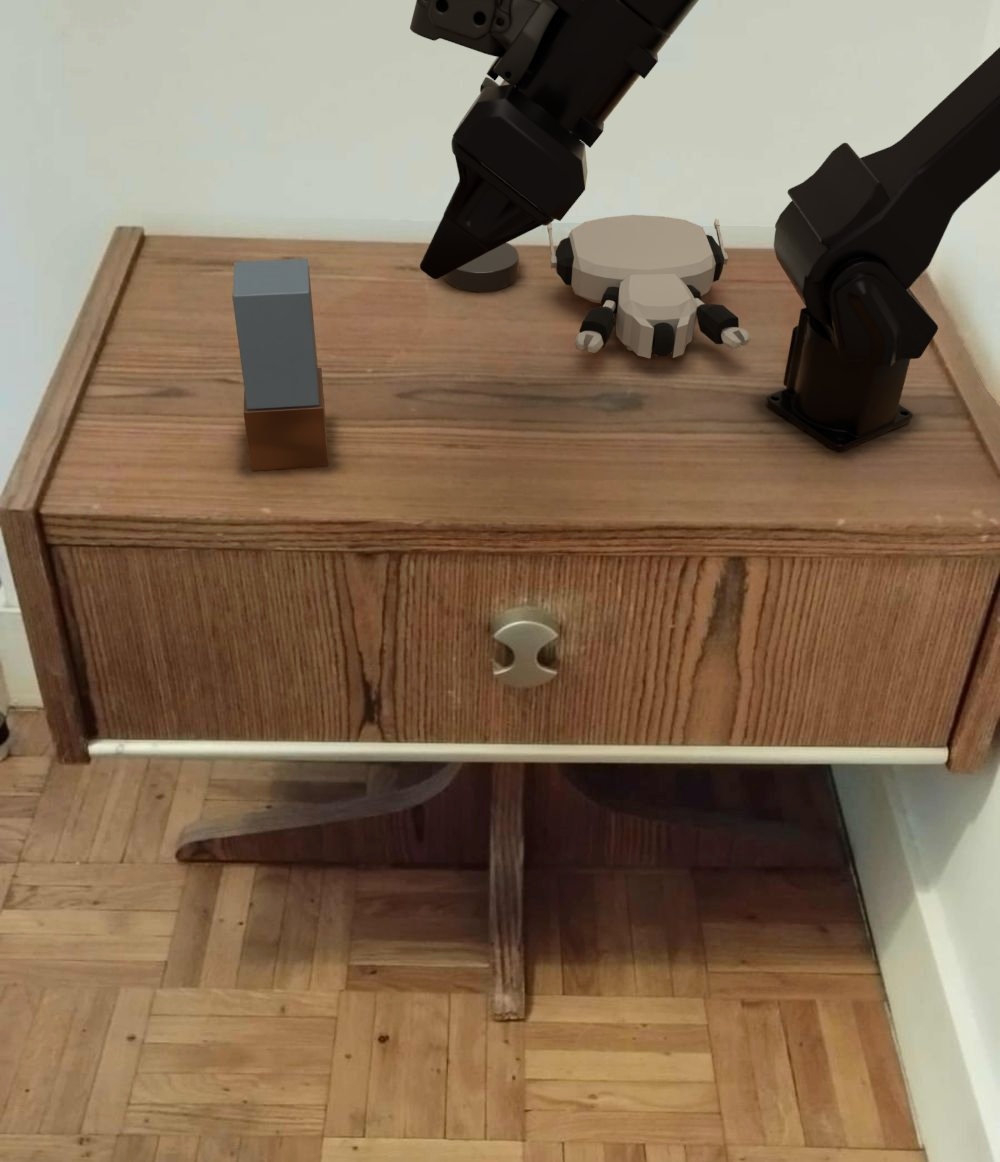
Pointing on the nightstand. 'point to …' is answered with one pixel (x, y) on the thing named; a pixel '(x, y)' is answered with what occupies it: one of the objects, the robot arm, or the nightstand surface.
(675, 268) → the robot toy
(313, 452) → the base block
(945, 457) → the nightstand surface
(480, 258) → the disc
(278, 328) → the top block
